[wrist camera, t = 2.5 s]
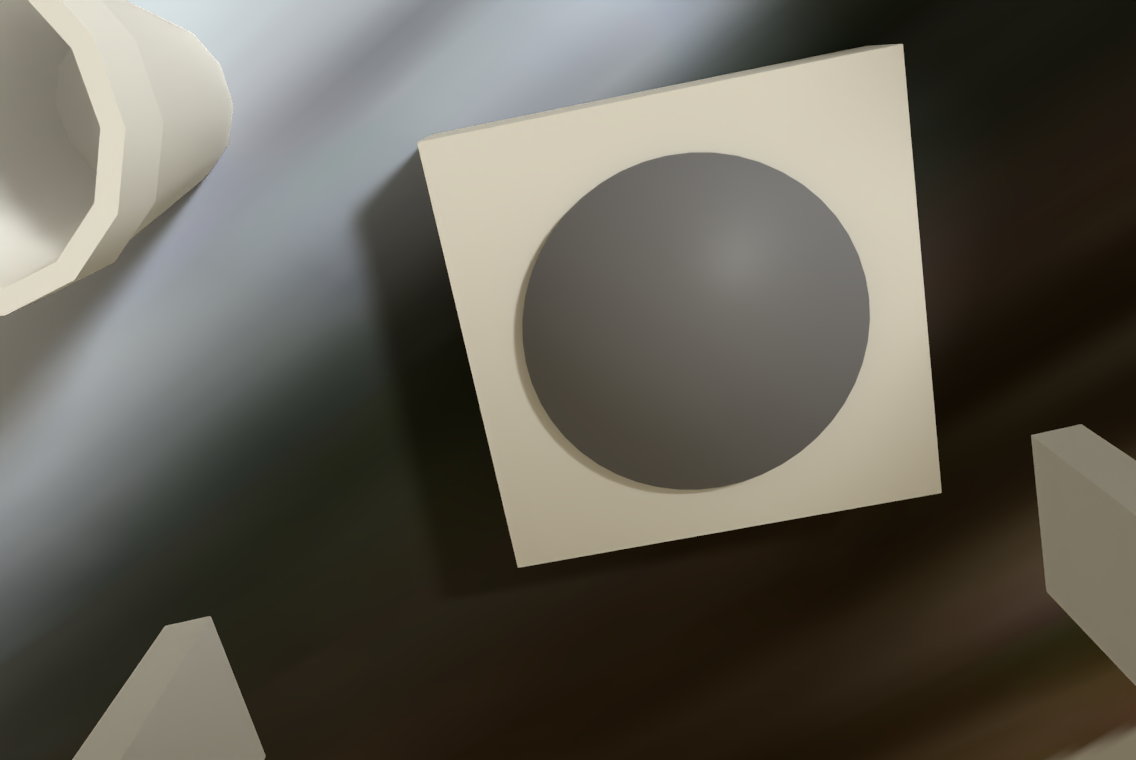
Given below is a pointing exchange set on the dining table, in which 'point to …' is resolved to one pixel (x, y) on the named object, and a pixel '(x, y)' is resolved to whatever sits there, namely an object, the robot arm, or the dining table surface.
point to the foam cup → (96, 134)
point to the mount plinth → (694, 303)
